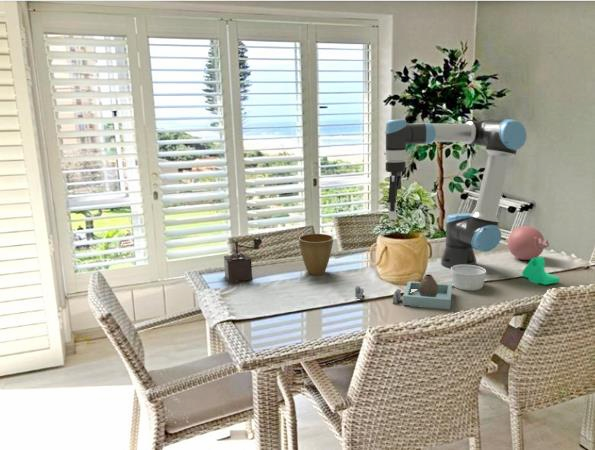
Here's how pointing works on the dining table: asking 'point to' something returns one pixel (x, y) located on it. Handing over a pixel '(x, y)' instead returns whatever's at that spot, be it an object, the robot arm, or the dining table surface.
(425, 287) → the vase
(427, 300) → the parts bin
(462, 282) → the ramekin
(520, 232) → the balloon
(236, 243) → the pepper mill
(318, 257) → the plant pot
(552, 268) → the dining table surface
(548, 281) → the green curved piece
